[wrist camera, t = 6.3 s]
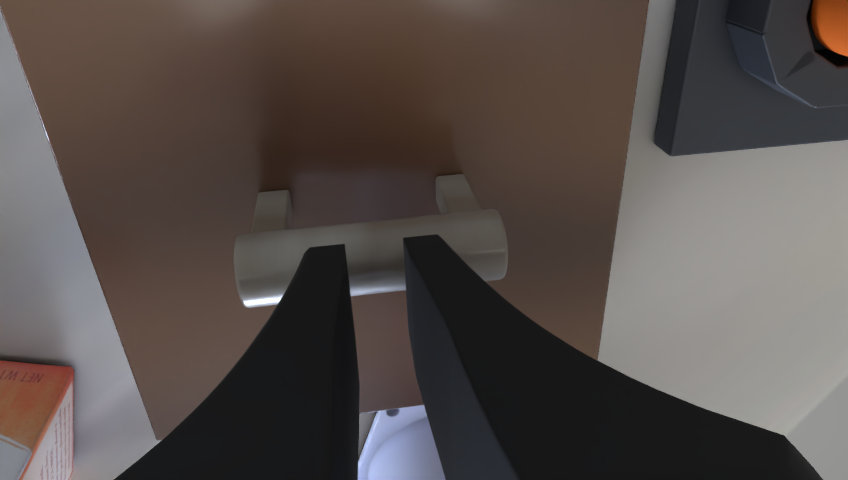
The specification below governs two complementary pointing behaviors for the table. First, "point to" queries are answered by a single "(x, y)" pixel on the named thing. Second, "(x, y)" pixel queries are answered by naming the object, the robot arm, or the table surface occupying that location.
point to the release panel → (749, 79)
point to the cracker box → (36, 421)
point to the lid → (331, 163)
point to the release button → (831, 24)
